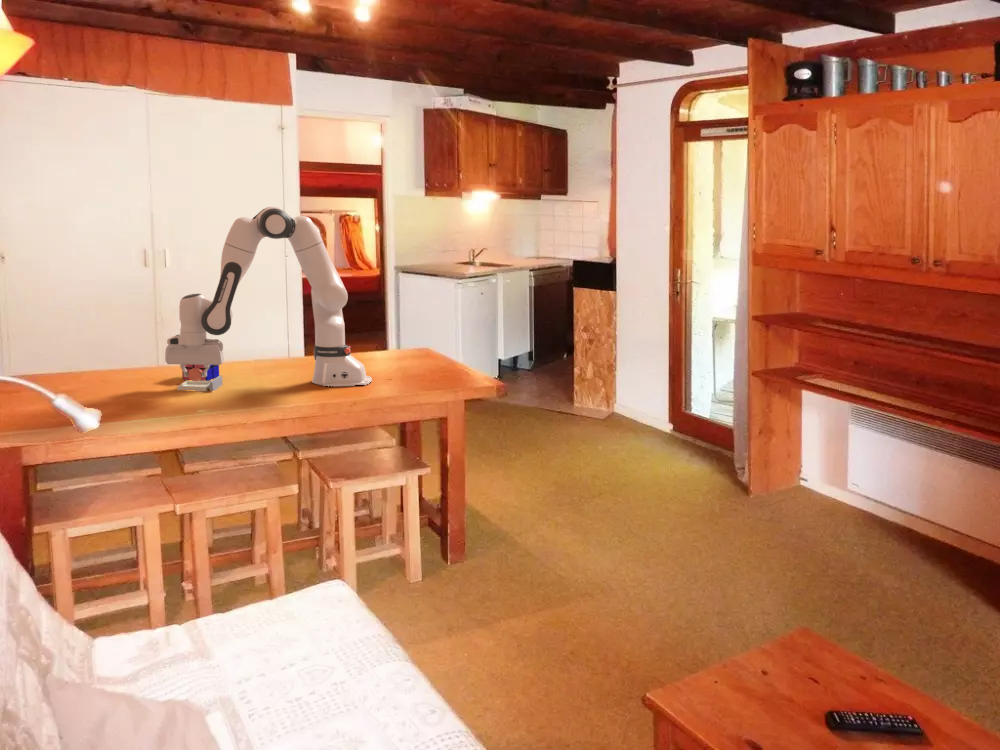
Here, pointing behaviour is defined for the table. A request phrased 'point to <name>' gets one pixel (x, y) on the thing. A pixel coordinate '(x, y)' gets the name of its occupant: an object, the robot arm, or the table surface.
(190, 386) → the tray
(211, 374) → the puzzle cube
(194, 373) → the ball
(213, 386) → the bar
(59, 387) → the table surface
